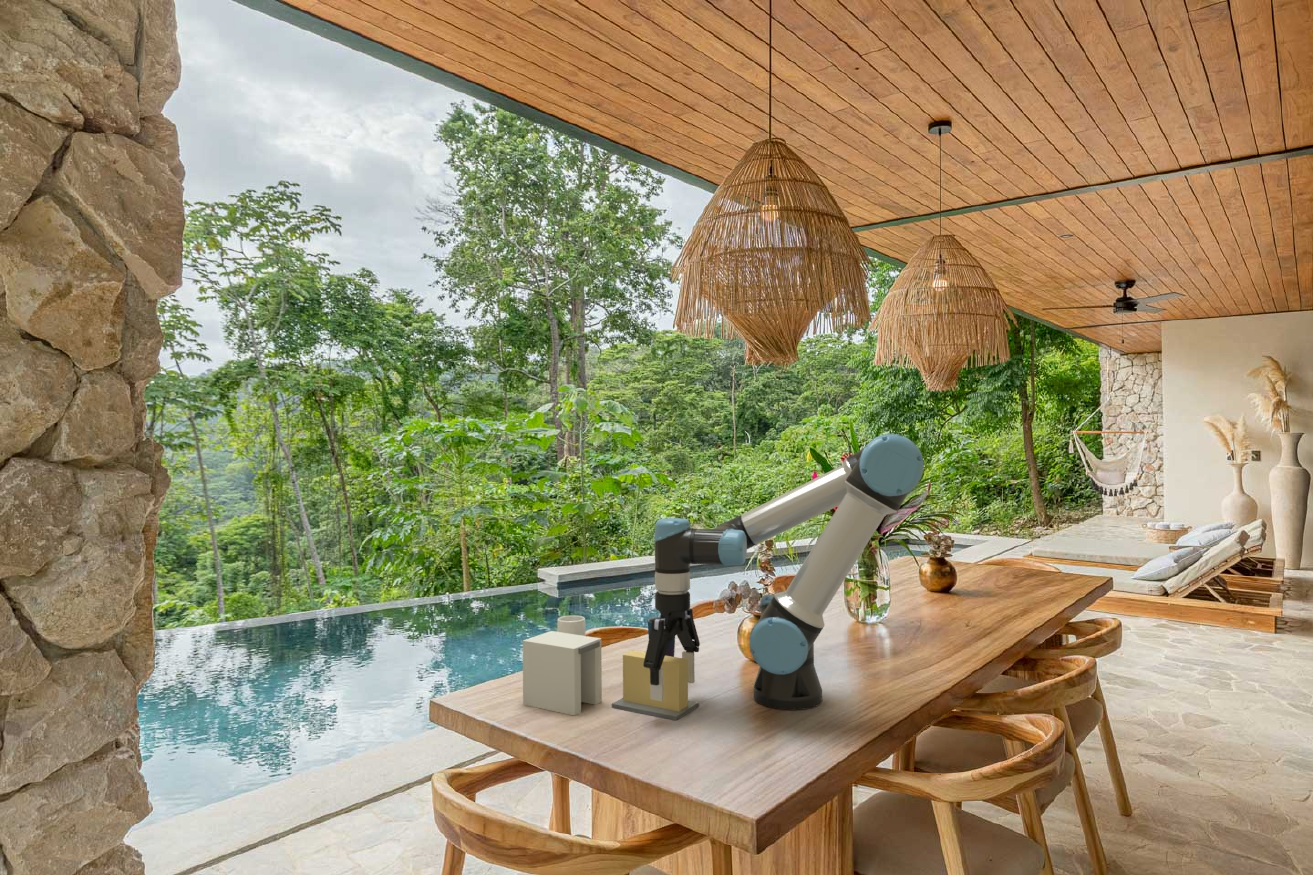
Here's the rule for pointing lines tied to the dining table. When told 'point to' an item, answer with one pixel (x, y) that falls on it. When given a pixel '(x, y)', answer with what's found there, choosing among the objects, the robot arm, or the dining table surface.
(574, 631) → the drinking glass
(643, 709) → the slate pad
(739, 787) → the dining table surface
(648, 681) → the yellow rectangular block
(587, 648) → the box
